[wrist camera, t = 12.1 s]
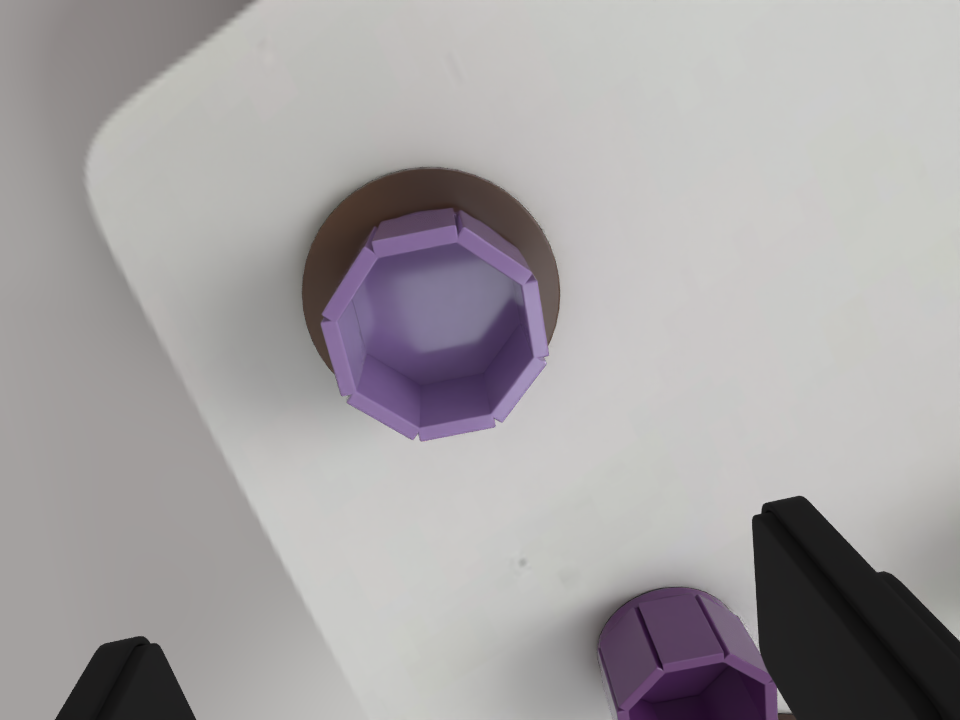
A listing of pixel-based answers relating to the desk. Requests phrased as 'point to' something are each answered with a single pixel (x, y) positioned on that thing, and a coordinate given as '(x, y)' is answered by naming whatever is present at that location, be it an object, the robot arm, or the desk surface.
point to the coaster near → (413, 195)
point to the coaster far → (786, 717)
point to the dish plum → (682, 661)
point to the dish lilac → (435, 325)
